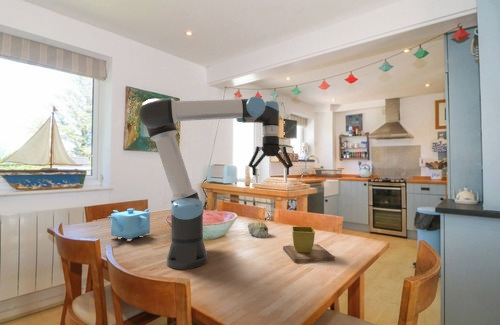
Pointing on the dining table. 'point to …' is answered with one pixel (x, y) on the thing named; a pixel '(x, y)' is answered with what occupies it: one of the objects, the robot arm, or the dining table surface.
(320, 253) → the plate
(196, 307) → the dining table surface
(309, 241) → the flower pot
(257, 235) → the grey rounded lump
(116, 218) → the teakettle
